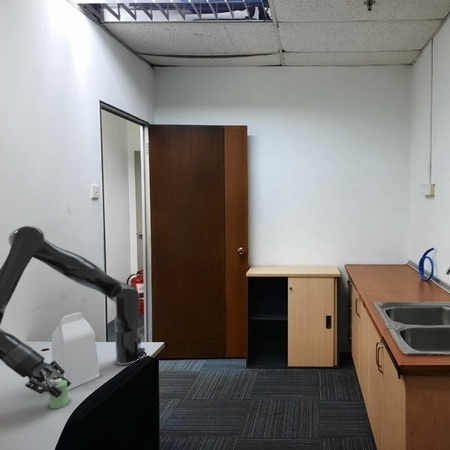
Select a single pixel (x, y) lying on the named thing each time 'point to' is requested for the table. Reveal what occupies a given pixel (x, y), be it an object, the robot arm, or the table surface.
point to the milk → (75, 349)
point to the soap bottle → (63, 397)
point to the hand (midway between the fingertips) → (64, 390)
